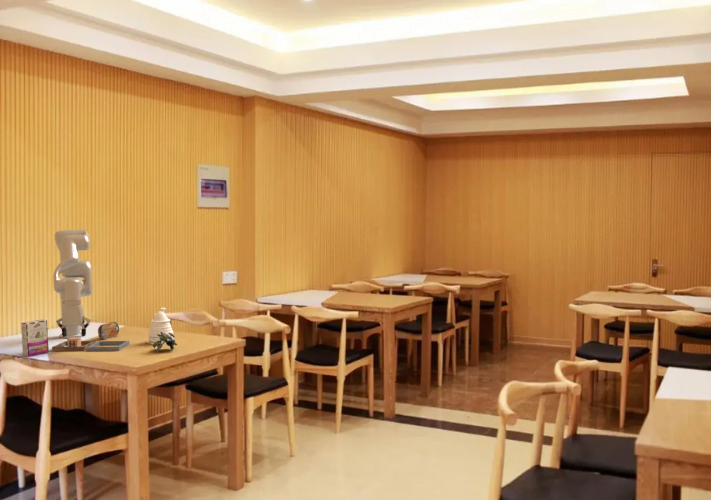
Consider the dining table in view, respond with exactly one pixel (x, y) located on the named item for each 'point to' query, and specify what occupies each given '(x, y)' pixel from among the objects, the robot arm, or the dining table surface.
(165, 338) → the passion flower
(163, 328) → the honey pot
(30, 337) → the candy bar box
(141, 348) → the dining table surface
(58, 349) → the walnut frame
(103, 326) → the tin
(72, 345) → the letter cube
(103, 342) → the grey frame
